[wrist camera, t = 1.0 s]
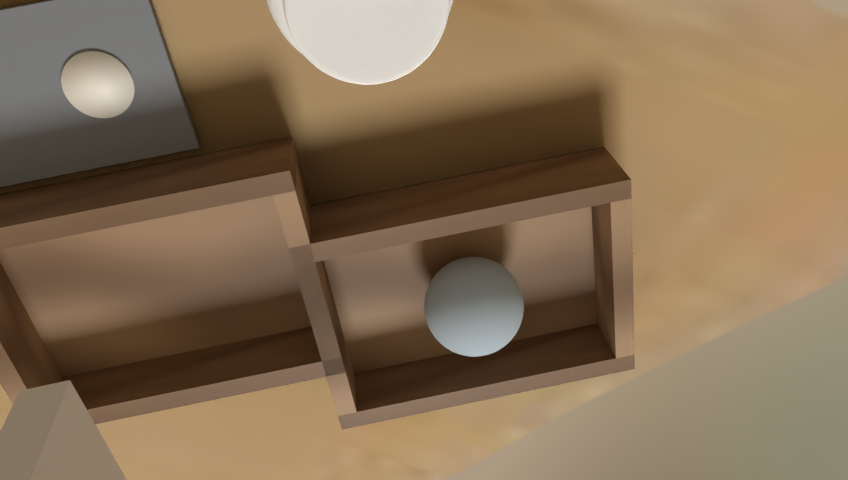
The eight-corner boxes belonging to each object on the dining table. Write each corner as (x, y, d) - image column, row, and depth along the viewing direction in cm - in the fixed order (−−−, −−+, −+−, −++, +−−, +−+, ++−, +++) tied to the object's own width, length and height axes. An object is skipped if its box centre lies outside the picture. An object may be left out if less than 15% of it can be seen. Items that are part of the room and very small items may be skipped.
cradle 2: (290, 209, 30) (288, 248, 28) (604, 147, 31) (631, 179, 28) (339, 383, 35) (341, 429, 32) (611, 327, 35) (634, 368, 33)
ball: (411, 249, 31) (423, 305, 28) (506, 230, 31) (530, 283, 28) (426, 325, 33) (439, 386, 30) (515, 307, 33) (538, 365, 30)
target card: (-156, 38, 25) (-163, 41, 25) (144, -19, 25) (141, -16, 25) (-68, 197, 28) (-72, 202, 28) (199, 144, 28) (198, 149, 28)
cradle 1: (-47, 203, 28) (-82, 244, 26) (292, 137, 29) (289, 170, 26) (54, 387, 33) (32, 436, 31) (343, 328, 33) (345, 372, 31)
